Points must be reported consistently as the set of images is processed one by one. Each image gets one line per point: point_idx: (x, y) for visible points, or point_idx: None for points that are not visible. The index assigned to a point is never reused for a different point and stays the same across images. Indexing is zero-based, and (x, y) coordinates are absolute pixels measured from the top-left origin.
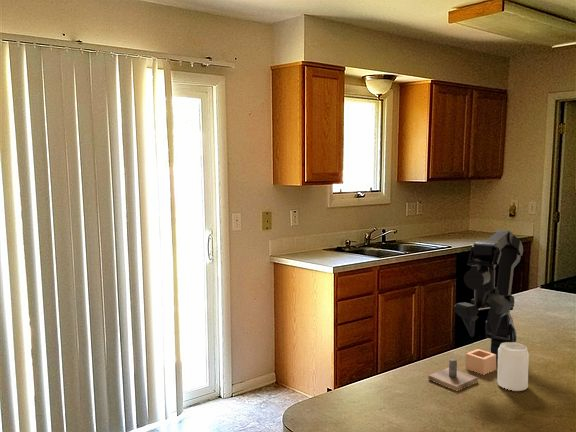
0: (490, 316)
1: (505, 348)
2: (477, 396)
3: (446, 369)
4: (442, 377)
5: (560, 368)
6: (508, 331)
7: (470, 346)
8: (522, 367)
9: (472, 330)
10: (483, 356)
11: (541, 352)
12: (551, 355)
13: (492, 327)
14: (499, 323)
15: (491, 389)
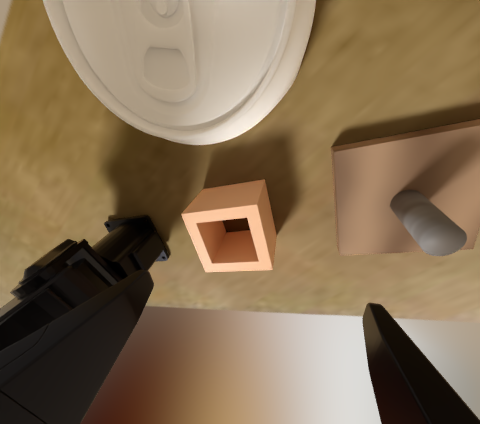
0: (78, 417)
1: (257, 10)
2: (470, 28)
3: (366, 248)
4: (451, 213)
5: (17, 105)
6: (58, 272)
7: (171, 303)
8: None
9: (438, 373)
10: (211, 239)
11: (32, 208)
12: (14, 184)
13: (135, 314)
14: (62, 319)
15: (342, 67)
